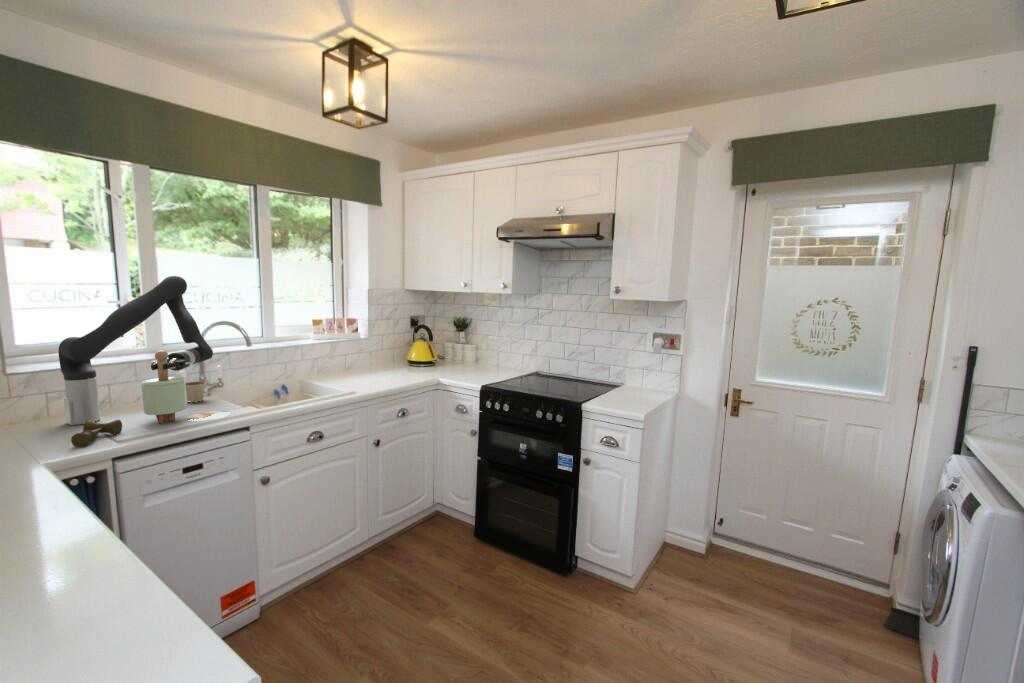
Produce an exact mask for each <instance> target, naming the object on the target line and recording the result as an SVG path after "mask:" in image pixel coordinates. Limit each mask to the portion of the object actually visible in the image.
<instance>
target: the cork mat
mask: <svg viewBox="0 0 1024 683" xmlns="http://www.w3.org/2000/svg"><path fill="white" fill-rule="evenodd" d="M218 412H227V411H225V410H223V411H222V410H215V411H205V412H198V413H194V414H190V415H188V416H185V417H184V421H186V419H187V420H190V419H193V420H194V419H199V418H205V417H208V416H211V415H212V414H215V413H218Z"/></svg>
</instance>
